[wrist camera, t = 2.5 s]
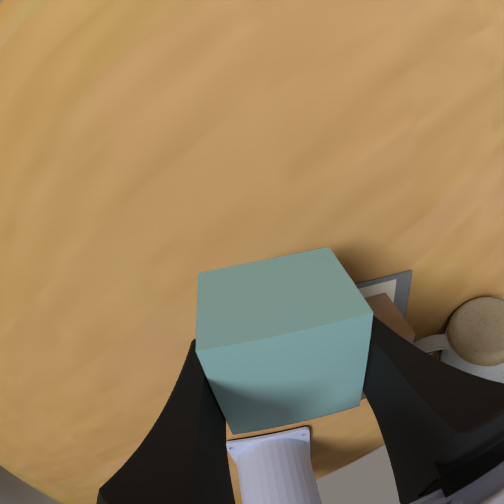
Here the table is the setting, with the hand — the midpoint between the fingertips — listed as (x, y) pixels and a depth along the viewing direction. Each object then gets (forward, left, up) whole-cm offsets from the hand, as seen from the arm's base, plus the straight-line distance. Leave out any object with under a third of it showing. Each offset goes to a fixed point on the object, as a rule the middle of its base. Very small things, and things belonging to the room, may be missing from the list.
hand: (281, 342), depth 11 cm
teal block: (0, 0, -2) cm, 2 cm away
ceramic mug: (-12, -15, -6) cm, 20 cm away
